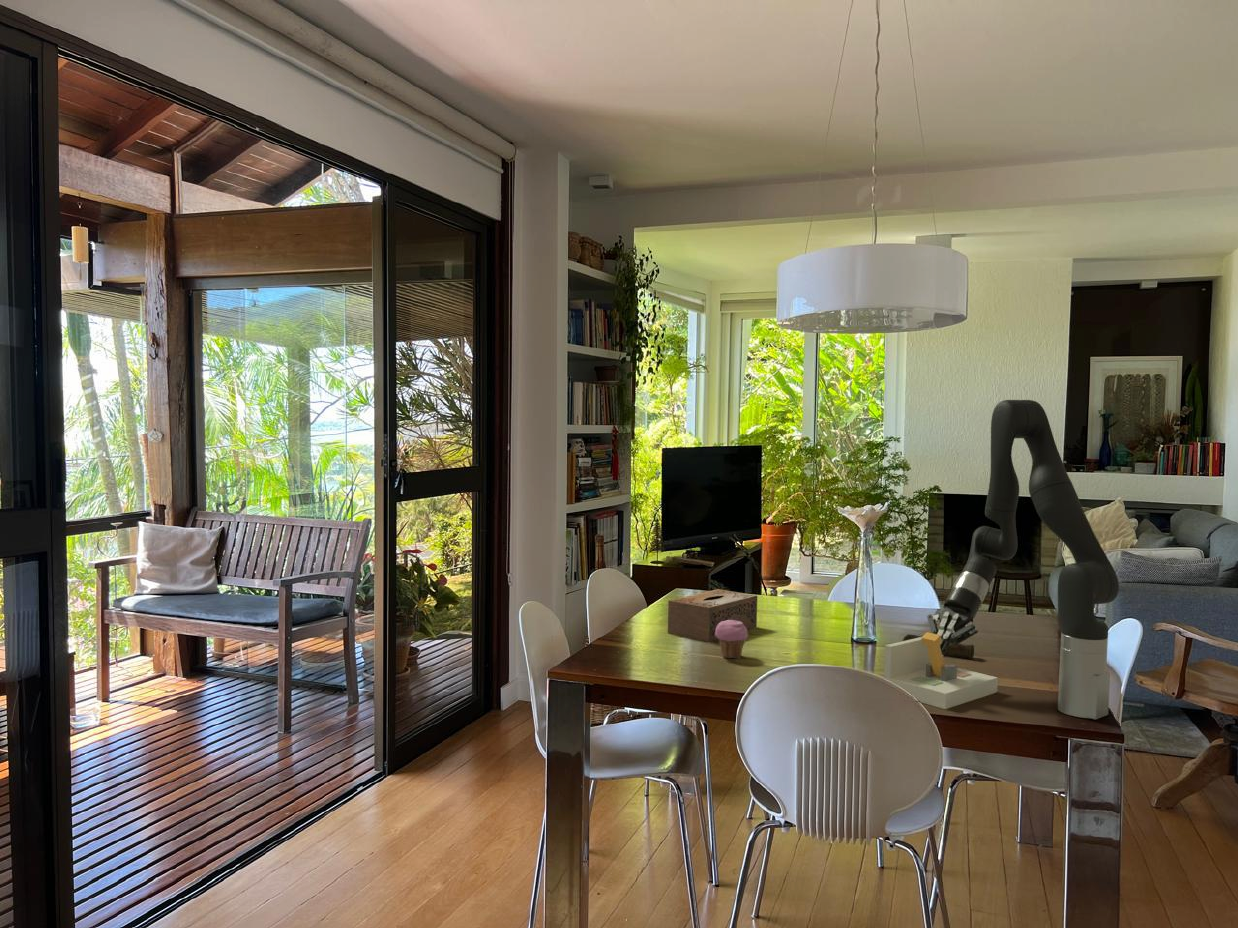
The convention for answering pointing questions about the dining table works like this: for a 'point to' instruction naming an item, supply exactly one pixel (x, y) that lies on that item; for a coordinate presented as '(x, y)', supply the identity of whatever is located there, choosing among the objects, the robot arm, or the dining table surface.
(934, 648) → the lever
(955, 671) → the white switch base
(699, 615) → the tissue box cover
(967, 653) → the hand tool
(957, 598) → the robot arm
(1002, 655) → the dining table surface
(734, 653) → the cupcake
